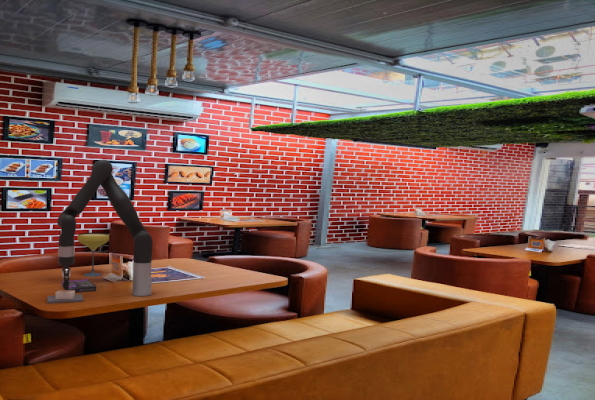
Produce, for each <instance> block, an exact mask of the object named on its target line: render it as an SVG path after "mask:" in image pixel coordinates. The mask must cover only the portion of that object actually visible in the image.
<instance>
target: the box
mask: <svg viewBox="0 0 595 400" xmlns="http://www.w3.org/2000/svg"><path fill="white" fill-rule="evenodd" d="M60 284H61V287H62V289H64V281H61V283H60ZM65 291H75V294H78V293H85V292H87V293H88V292H96V291H97V284H95V283H94V282H92V281H91V280H89V279H88V278H86V279H75V280H69V289H68V290H65Z"/></svg>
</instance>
